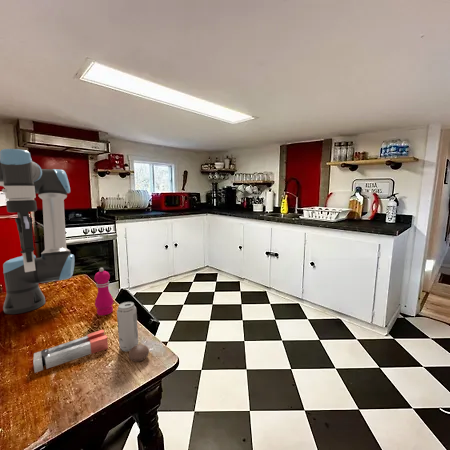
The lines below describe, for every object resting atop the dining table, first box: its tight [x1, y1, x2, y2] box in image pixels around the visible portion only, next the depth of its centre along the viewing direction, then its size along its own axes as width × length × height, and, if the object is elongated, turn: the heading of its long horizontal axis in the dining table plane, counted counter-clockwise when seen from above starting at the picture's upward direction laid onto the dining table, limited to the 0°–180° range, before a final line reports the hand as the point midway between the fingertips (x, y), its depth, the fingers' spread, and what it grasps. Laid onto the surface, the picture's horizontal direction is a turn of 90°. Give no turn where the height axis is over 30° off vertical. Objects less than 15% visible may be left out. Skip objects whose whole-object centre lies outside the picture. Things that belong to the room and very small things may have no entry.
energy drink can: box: [116, 301, 139, 352], centre depth 84 cm, size 6×6×15 cm
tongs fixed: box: [32, 334, 109, 374], centre depth 81 cm, size 20×5×4 cm, turn 125°
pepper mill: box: [93, 267, 114, 316], centre depth 109 cm, size 7×7×20 cm
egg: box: [128, 344, 150, 362], centre depth 79 cm, size 6×6×4 cm
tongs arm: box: [47, 329, 106, 354], centre depth 84 cm, size 16×2×4 cm, turn 130°
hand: (30, 270), depth 84 cm, fingers closed
